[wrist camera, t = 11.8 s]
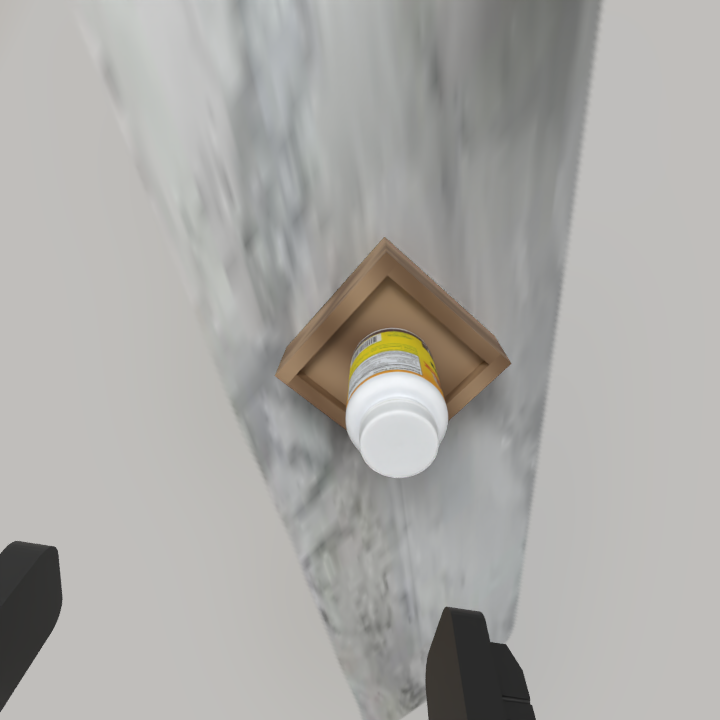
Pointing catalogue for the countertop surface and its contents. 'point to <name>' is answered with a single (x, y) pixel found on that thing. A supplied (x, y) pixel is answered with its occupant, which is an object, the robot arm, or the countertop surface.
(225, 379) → the countertop surface
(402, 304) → the walnut tray
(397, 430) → the supplement bottle
